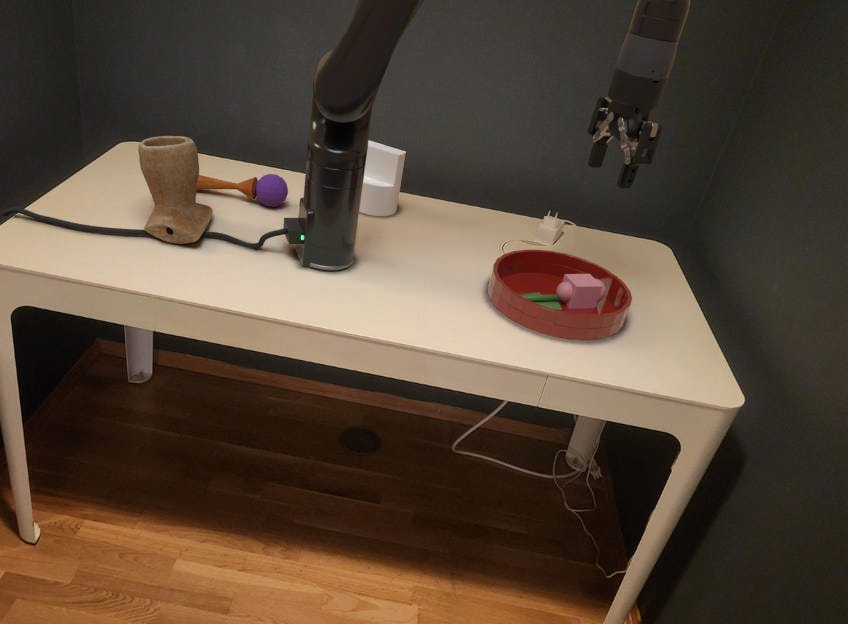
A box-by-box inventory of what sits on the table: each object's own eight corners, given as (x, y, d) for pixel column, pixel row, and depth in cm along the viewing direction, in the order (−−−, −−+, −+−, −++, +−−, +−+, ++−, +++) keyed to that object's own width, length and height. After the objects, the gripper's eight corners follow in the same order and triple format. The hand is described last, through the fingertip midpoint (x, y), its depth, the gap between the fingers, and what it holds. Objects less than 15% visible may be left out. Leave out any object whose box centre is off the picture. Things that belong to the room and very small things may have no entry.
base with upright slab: (343, 206, 145) (350, 146, 139) (365, 194, 152) (373, 136, 146) (383, 220, 142) (392, 159, 136) (404, 207, 149) (414, 148, 142)
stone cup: (152, 205, 134) (150, 122, 126) (218, 214, 134) (220, 132, 126) (125, 240, 121) (120, 151, 113) (198, 251, 122) (198, 162, 114)
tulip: (515, 313, 118) (522, 290, 116) (501, 295, 122) (506, 272, 120) (608, 310, 123) (616, 288, 121) (590, 293, 127) (598, 271, 125)
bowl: (523, 344, 111) (530, 319, 108) (467, 273, 128) (472, 249, 126) (649, 339, 117) (659, 314, 115) (580, 271, 135) (587, 249, 132)
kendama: (190, 162, 143) (291, 173, 141) (190, 193, 145) (290, 205, 143) (178, 166, 137) (283, 178, 135) (178, 199, 140) (282, 210, 138)
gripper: (594, 55, 112) (565, 160, 121) (649, 81, 101) (612, 194, 110) (637, 58, 114) (604, 161, 123) (694, 84, 103) (654, 195, 112)
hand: (608, 176), depth 116 cm, fingers open, 8 cm apart
